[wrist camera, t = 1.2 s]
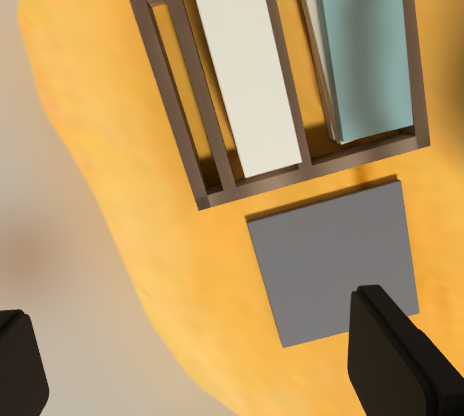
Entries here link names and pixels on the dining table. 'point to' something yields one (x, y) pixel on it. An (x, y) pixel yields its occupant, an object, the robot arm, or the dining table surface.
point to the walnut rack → (308, 168)
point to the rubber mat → (334, 259)
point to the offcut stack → (360, 65)
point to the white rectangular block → (250, 83)
